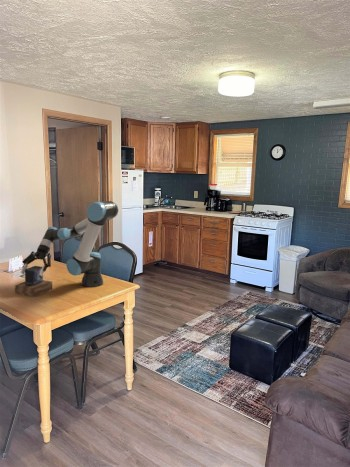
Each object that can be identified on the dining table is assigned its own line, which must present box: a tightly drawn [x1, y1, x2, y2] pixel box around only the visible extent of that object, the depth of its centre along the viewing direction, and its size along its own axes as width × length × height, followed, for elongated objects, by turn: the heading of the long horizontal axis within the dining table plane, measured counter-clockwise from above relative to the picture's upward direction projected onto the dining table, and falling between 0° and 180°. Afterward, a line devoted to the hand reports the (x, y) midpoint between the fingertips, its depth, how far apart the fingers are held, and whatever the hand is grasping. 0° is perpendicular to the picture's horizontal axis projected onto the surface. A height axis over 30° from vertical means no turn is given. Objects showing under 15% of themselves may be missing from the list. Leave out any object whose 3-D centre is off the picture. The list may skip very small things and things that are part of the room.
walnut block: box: [14, 279, 53, 298], centre depth 224 cm, size 16×16×6 cm
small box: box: [24, 265, 44, 286], centre depth 222 cm, size 11×6×10 cm, turn 166°
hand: (31, 274), depth 220 cm, fingers open, 13 cm apart
